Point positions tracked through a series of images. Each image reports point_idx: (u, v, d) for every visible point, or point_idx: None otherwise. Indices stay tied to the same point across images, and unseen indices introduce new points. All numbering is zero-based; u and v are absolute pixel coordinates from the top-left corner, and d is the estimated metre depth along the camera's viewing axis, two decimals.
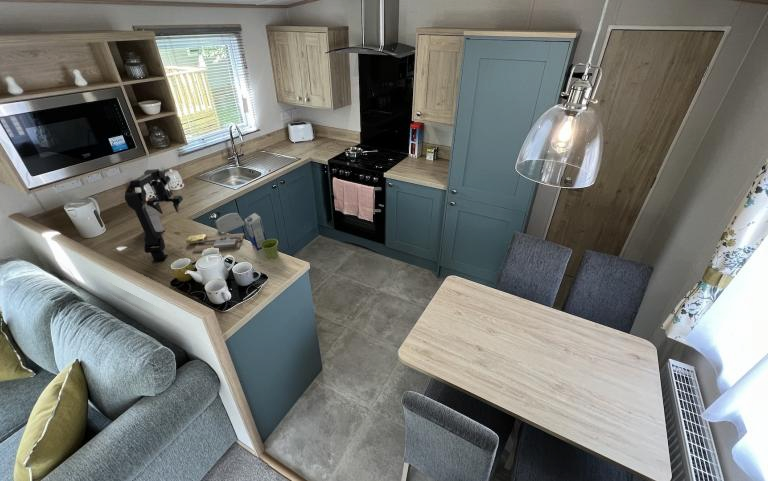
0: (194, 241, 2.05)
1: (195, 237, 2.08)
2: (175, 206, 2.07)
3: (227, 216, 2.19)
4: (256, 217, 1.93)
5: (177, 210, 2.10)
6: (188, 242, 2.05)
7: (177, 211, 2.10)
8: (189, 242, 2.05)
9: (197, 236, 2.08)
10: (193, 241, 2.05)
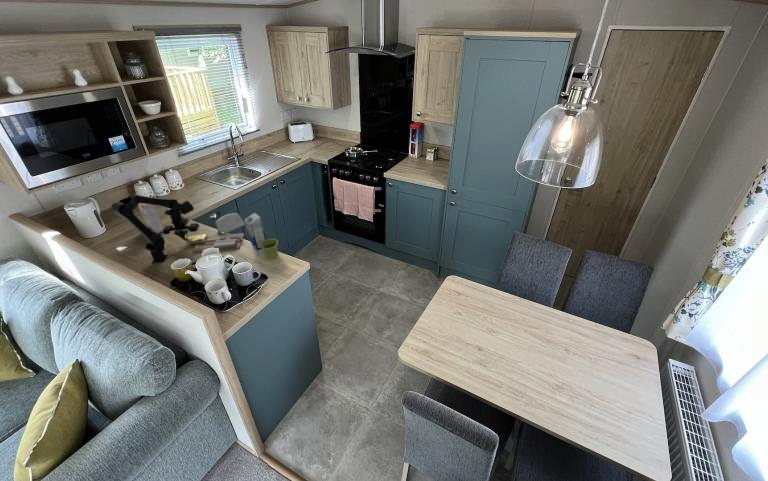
0: (194, 241, 2.05)
1: (195, 237, 2.08)
2: (184, 235, 2.03)
3: (227, 216, 2.19)
4: (256, 217, 1.93)
5: (186, 238, 2.06)
6: (188, 242, 2.05)
7: None
8: (189, 242, 2.05)
9: (197, 236, 2.08)
10: (193, 241, 2.05)
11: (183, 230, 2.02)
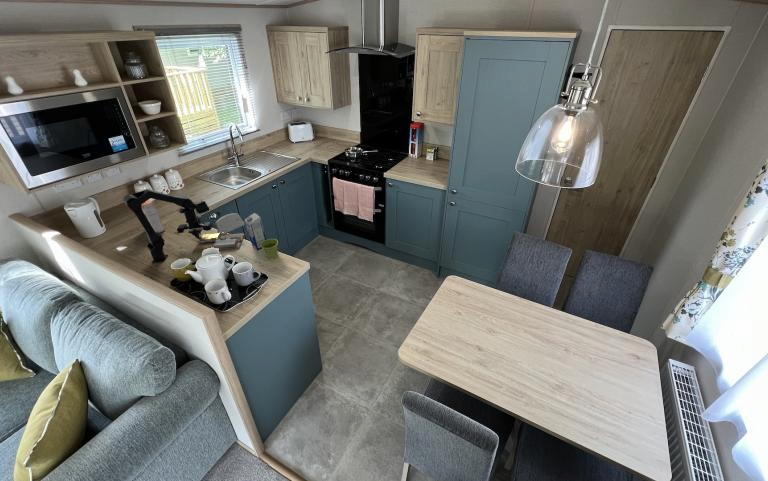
0: None
1: (208, 236, 2.08)
2: (198, 233, 2.03)
3: (227, 216, 2.19)
4: (256, 217, 1.93)
5: (199, 237, 2.06)
6: None
7: (199, 238, 2.07)
8: (203, 240, 2.06)
9: (211, 235, 2.09)
10: None
11: (197, 229, 2.03)
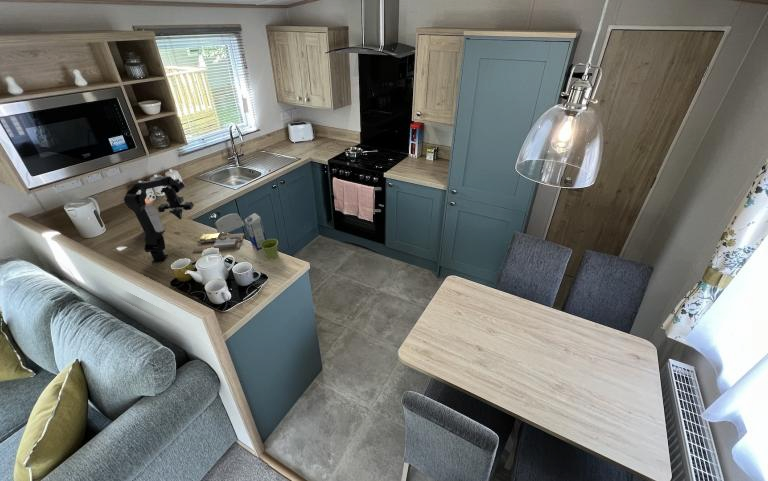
0: None
1: (208, 236, 2.08)
2: (179, 213, 2.07)
3: (227, 217, 2.18)
4: (256, 217, 1.93)
5: (180, 217, 2.10)
6: None
7: (180, 218, 2.10)
8: (203, 240, 2.06)
9: (211, 235, 2.09)
10: None
11: (178, 208, 2.06)
